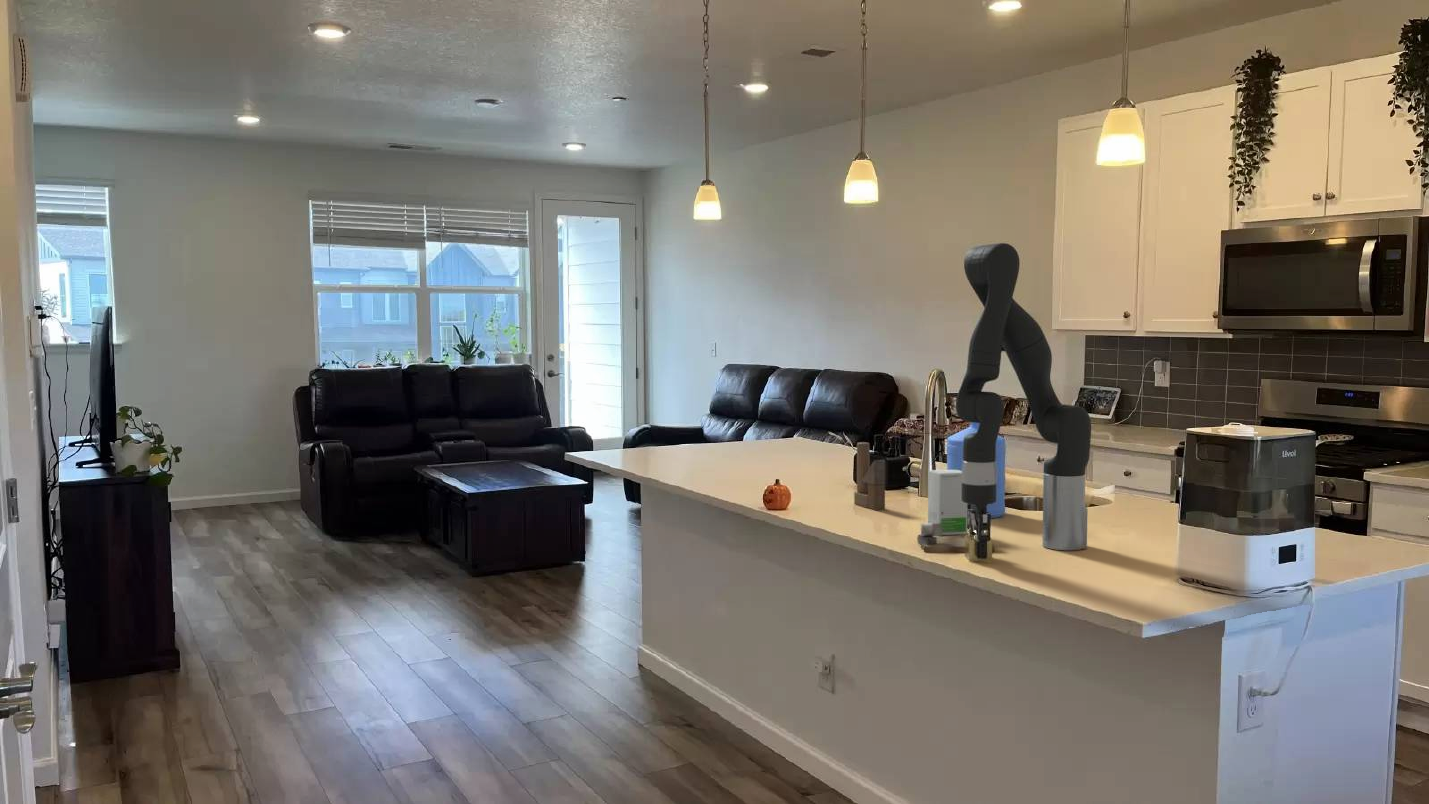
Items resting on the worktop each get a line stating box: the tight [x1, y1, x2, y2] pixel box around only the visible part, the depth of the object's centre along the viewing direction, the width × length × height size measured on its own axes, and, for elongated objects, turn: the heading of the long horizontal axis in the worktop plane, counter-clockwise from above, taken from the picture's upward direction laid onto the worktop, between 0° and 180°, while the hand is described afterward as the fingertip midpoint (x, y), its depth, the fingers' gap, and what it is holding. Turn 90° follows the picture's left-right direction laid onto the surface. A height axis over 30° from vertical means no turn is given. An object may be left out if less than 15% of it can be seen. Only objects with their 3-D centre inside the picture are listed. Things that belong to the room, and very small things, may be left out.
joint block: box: [964, 534, 993, 562], centre depth 230 cm, size 5×5×5 cm
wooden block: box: [853, 441, 886, 511], centre depth 293 cm, size 4×11×18 cm, turn 24°
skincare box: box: [927, 469, 969, 536], centre depth 258 cm, size 8×7×16 cm
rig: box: [916, 522, 996, 553], centre depth 242 cm, size 16×11×6 cm, turn 87°
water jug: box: [946, 422, 1007, 519], centre depth 280 cm, size 16×16×28 cm
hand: (978, 554), depth 230 cm, fingers open, 7 cm apart
